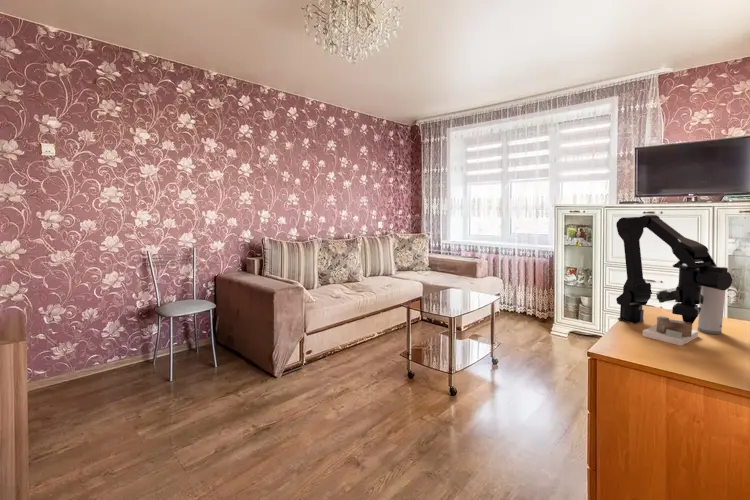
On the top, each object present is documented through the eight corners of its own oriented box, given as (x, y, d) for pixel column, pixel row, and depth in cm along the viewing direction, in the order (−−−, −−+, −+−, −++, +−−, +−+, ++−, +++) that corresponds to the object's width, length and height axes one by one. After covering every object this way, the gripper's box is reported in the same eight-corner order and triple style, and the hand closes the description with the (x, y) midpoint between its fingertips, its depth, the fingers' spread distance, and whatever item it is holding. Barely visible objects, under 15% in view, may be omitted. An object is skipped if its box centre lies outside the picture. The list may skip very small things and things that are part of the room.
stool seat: (642, 335, 130) (643, 324, 129) (659, 327, 137) (660, 317, 137) (681, 345, 121) (682, 333, 120) (698, 336, 128) (699, 325, 128)
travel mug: (727, 334, 129) (732, 276, 126) (704, 334, 130) (709, 276, 127) (714, 328, 135) (719, 273, 132) (693, 327, 136) (698, 272, 134)
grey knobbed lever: (655, 331, 127) (656, 318, 127) (656, 328, 130) (657, 315, 129) (691, 337, 122) (692, 323, 121) (691, 334, 124) (692, 320, 123)
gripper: (663, 274, 135) (661, 316, 138) (653, 286, 122) (651, 332, 125) (705, 277, 128) (702, 322, 130) (699, 291, 115) (695, 340, 117)
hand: (687, 329), depth 126 cm, fingers closed
